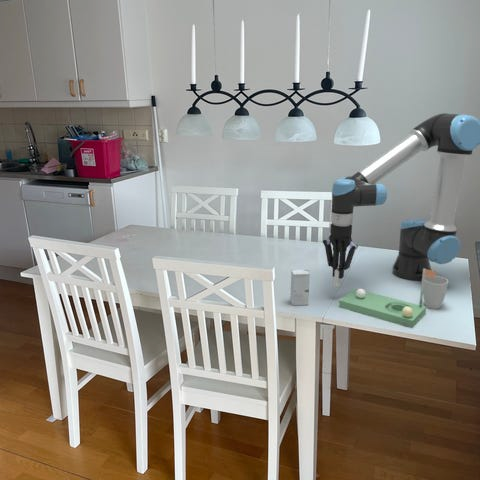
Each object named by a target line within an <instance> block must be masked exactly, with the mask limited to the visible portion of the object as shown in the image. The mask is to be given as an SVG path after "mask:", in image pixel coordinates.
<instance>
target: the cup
mask: <svg viewBox="0 0 480 480" xmlns="http://www.w3.org/2000/svg"><path fill="white" fill-rule="evenodd" d="M448 285H449V280H448V279H447V278H446V277H442V276H439V275H435V278H431V277H427V276H425V280H424V289H423V298H422V299H423V302H424V306H425V307H426V308H428V309H431V310H437V309H440V308H441V307H442V305H443V302H444V300H445V297H446V295H447V290H448Z"/></svg>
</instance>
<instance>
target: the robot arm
mask: <svg viewBox="0 0 480 480" xmlns="http://www.w3.org/2000/svg"><path fill="white" fill-rule="evenodd" d="M479 145H480V120H479V119H478V118H476V117H475V116H473V115H469V114H460V113H459V114H457V113H455V114H454V113H446V112H445V113H438V114H436V115H434V116H431V117H429V118H427V119H425V120H424V121H422V122H421V123H419V124H417V126H415V127H414V128H412V129H410V131H409V134H408V135H407V136H406V137H404V138H402V140H400V141H399V142H397V143H395V144H394V145H393V146H392V147H391V148H388V149H387V150H386V151H385V152H384V153H382V154H381V155H379V156H378V157H376V158H375V159H373V160H372V161H371V162H370V163H368V164H367V165H365V166H364V167H362V168H361V169H359V170H358V171H357V172H356V173H354V174H353V175H351V176H350V175H349V176H347V175H346V176H344V177H342V178H339V179H336V180H334V181H333V183H332V190H331V210H330V227H329V236H328V238H325V239H323V240H322V243H323V245H324V249H325V254H326V261H327V267H330V268H331V269H332V277H333V278H334V279H333V287H334V288H339V287H341V286H342V279H343V278H344V277H345V271H346V270H348V269H350V267H351V263H352V261H353V258H354V255H355V251H356V250H357V249H358V247H359V246H358V244H355V243H354V242H353V239H352V234H353V232H352V230H353V225H352V224H353V220H354V219H353V218H354V207H357V208H358V207H366V206H367V207H371V206H374V207H375V206H381V205H384V204H385V203H386V201H387V199H388V191H387V188H386V186H385V185H384V184H382V183H379V182H380V181H381V180H382V179H384V178H385V177H387V176H388V175H389V174H391V173H392V172H394V171H395V170H397V169H398V168H399V167H401V166H403V164H405V163H406V162H408V161H409V160H411V159H412V158H413V157H414V156H416V155H417V154H420V152H427V151H428V150H429V149H431V148H432V147H436V146H437V150H436V152H437V154H438V155H439V157H440V158H439V162H438V163H439V164H438V169H437V176H436V181H435V187H434V192H433V196H432V197H433V198H432V202H431V208H430V212H429V213H430V214H429V219H426V218H410V219H405V220H403V221H402V222H401V226H400V228H399V230H400V233H399V244H398V245H399V246H398V254H397V256H396V259H395V261H394V263H393V266H392V274H393V275H395V276H396V277H399V278H401V279H403V280H409V281H422V275H423V268H425V269H427V270H432V268H431V267H432V266H431V263H430V262H432V263H435V264H438V265H445V264H449V263H450V262H452V261H453V260H455V259H456V258H457V256H458V255H459V254H460V251H461V241H460V240H459V238H458V237H457V232H458V231H457V230H458V228H457V227H456V226H455V218H456V212H457V210H458V209H457V208H458V204H459V199H460V193H461V187H462V183H463V177H464V173H465V168H466V167H465V166H466V163H467V162H466V161H467V159H468V158H470V157H471V156H472V155H473V150H475V149H477V148H478V146H479ZM348 247H349V248H348ZM348 249H349V250H348ZM347 251H348V252H347Z"/></svg>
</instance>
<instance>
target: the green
mask: <svg viewBox="0 0 480 480" xmlns="http://www.w3.org/2000/svg"><path fill="white" fill-rule="evenodd" d="M358 289H359V288H355V289H353V290H352V291H351V292H349V293H348V294H346V295H345V296H344V297H342V298H340V299H339V301H338V307H339V308H341V307H342V309H345V310H349V311H352V312H356V313H359V314H362V315H367V316H370V317H373V318H377V319H380V320H383V321H387V322H390V323H395V324H398V325H402V326H404V327H408V328H413V327H414V326H415V325H416V324H417V323H418V322H419V321H420V320H421V319H422V318H423V317H424V316H425V315H426V313H427V307H426V306H425V305H422V307H421V308H420V307H419V304H417V303H413V302H409V301H405V300H402V299H397V298H393V297H389V296H387V295H382V294H378V293H374V292H370V291H366V290H365V292H366V295H365V297H364V298H358V297H357V295H356V291H357V290H358ZM406 306H408V307H411V308H412V309H413V314H412V316H410V317H406V316H404V315H403V313H402V310H403V308H404V307H406Z"/></svg>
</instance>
